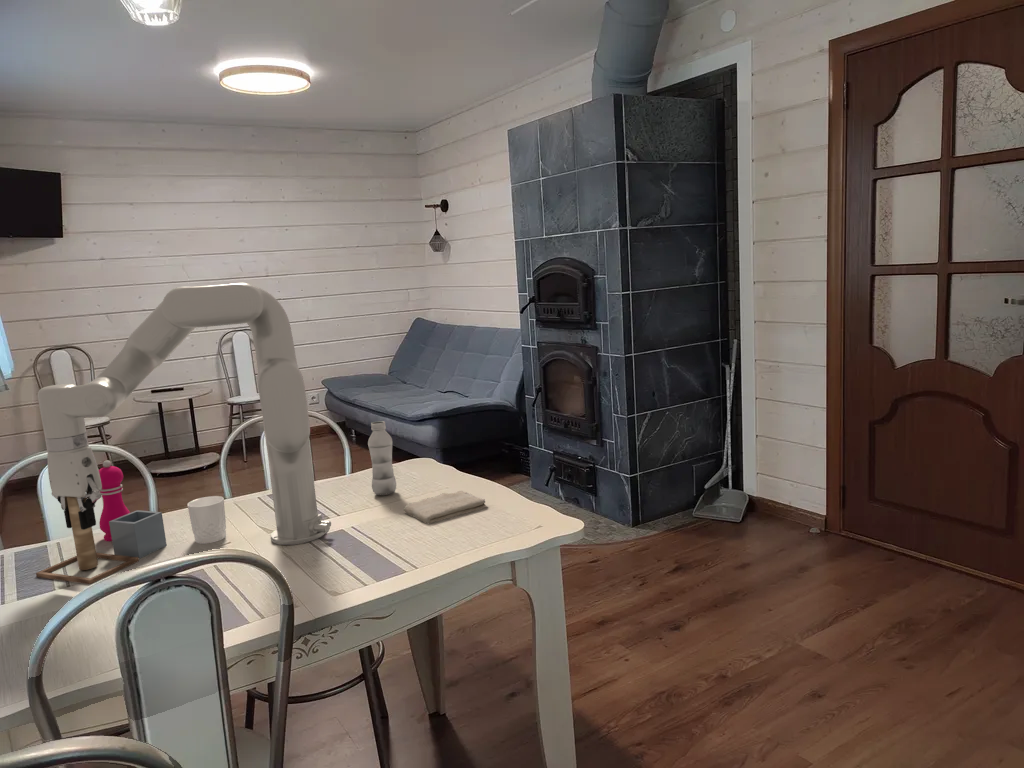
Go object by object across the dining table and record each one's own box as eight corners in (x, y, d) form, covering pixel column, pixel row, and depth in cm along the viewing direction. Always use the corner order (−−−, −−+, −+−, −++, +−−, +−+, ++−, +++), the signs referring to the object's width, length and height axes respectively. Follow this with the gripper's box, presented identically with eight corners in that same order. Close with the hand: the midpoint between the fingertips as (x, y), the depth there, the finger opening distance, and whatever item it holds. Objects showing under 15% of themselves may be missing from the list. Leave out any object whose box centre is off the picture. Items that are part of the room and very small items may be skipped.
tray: (139, 565, 162) (138, 557, 162) (91, 588, 151) (89, 580, 151) (87, 558, 168) (86, 551, 168) (37, 581, 157) (35, 573, 157)
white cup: (185, 547, 171) (179, 506, 170) (210, 534, 178) (204, 495, 177) (212, 549, 168) (206, 507, 167) (236, 537, 176) (231, 496, 174)
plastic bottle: (376, 490, 205) (369, 420, 202) (400, 490, 204) (393, 419, 201) (369, 498, 199) (361, 425, 195) (393, 497, 198) (386, 424, 194)
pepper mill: (128, 532, 184) (115, 455, 181) (141, 538, 180) (128, 458, 176) (97, 542, 179) (84, 462, 175) (110, 548, 174) (96, 466, 171)
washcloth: (489, 508, 185) (488, 496, 185) (427, 527, 175) (426, 514, 174) (463, 498, 195) (462, 487, 194) (403, 515, 184) (402, 503, 184)
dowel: (102, 564, 160) (90, 493, 158) (87, 570, 157) (74, 498, 154) (90, 562, 162) (78, 492, 159) (75, 569, 158) (62, 497, 156)
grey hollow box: (167, 549, 170) (161, 512, 169) (140, 562, 163) (133, 523, 162) (142, 546, 173) (137, 510, 172) (115, 559, 166) (108, 521, 165)
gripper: (111, 439, 155) (124, 523, 158) (56, 438, 161) (70, 518, 164) (79, 449, 148) (93, 535, 151) (23, 446, 154) (38, 530, 157)
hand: (81, 525), depth 158 cm, fingers closed on dowel, 3 cm apart
